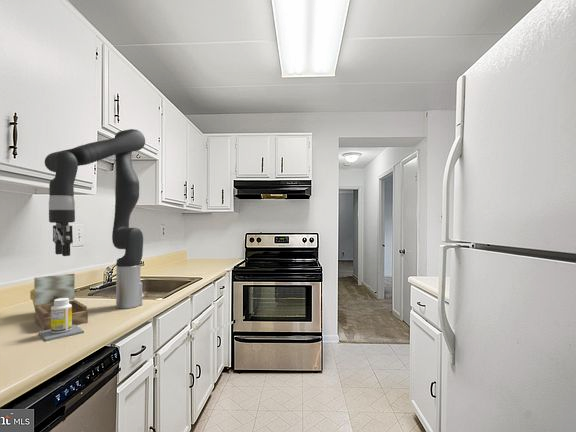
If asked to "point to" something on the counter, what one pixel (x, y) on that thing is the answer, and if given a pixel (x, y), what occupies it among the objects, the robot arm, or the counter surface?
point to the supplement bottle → (61, 316)
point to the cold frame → (55, 289)
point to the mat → (49, 335)
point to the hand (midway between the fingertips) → (62, 255)
